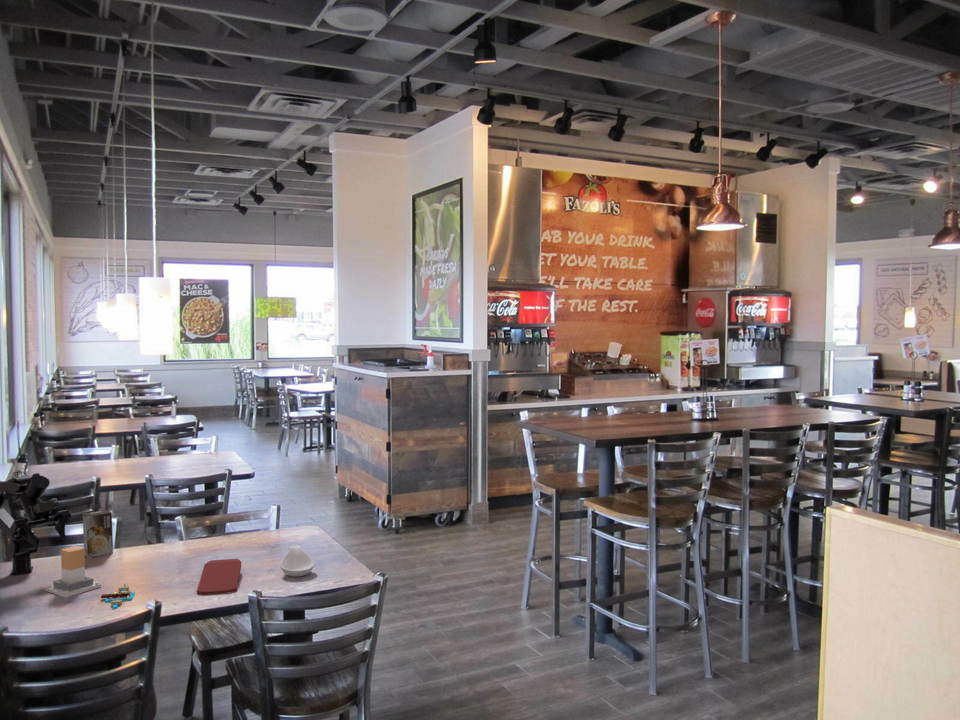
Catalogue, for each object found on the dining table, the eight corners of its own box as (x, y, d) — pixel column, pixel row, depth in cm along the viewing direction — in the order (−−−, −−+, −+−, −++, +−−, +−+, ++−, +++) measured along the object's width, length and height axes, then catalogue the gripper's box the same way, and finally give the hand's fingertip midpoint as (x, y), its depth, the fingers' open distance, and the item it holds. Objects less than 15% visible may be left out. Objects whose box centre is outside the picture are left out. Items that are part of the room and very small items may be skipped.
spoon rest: (316, 578, 258) (316, 557, 258) (281, 581, 254) (281, 561, 254) (308, 558, 280) (308, 540, 280) (276, 561, 277) (276, 542, 276)
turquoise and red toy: (95, 612, 227) (128, 609, 229) (94, 595, 227) (128, 592, 229) (107, 590, 246) (138, 588, 249) (107, 574, 246) (138, 572, 248)
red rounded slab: (236, 603, 244) (242, 568, 268) (236, 589, 243) (242, 555, 267) (196, 606, 241) (206, 570, 265) (196, 592, 240) (206, 557, 264)
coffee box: (109, 549, 290) (108, 509, 290) (113, 553, 285) (112, 512, 285) (83, 554, 284) (82, 513, 284) (86, 558, 279) (86, 516, 279)
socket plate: (45, 590, 244) (45, 581, 244) (81, 580, 254) (80, 571, 254) (65, 597, 238) (65, 588, 238) (101, 586, 248) (101, 577, 248)
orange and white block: (61, 586, 245) (61, 549, 245) (76, 582, 249) (76, 545, 249) (70, 589, 243) (69, 552, 242) (85, 584, 247) (84, 548, 246)
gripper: (12, 496, 247) (30, 534, 242) (68, 487, 263) (86, 522, 258) (1, 517, 252) (18, 554, 246) (56, 506, 268) (74, 540, 262)
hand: (50, 542), depth 253 cm, fingers open, 9 cm apart
